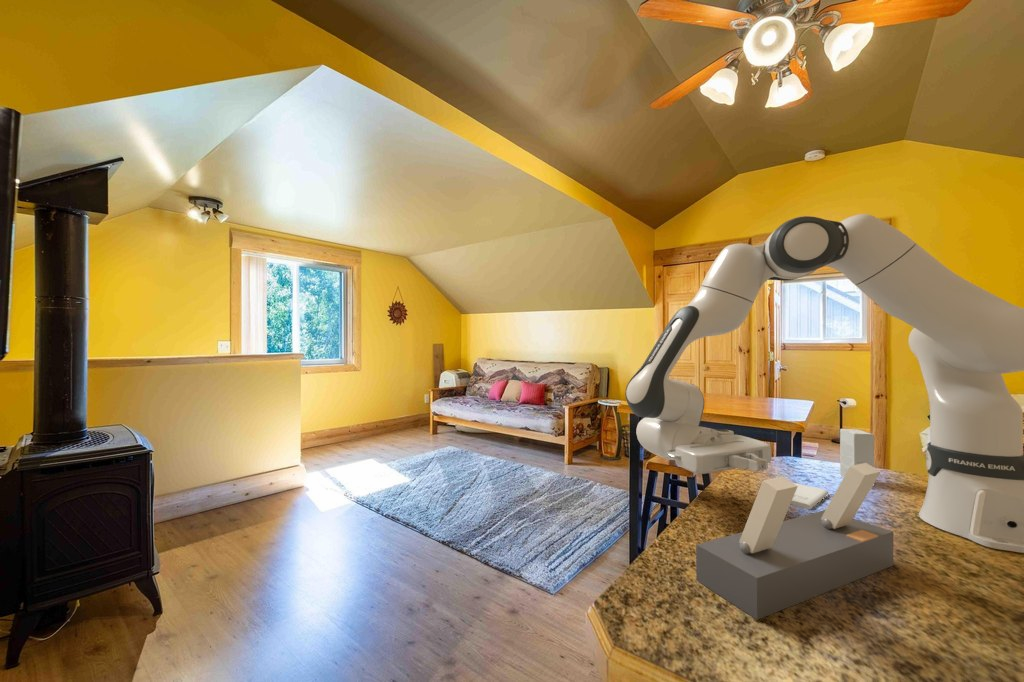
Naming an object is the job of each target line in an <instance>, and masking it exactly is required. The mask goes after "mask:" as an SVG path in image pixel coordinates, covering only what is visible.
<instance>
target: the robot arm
mask: <svg viewBox="0 0 1024 682" xmlns="http://www.w3.org/2000/svg"><path fill="white" fill-rule="evenodd" d="M824 267H827V268H831V269H834V270H836V271H837V272H839V273H841V274H843V275H844V277H846V278H847V279H848V280H849V281H850V282H851V283H852V284H854V285H855V286H856V288H857V289H859V290H860V291H861V292H862V293H863V294H864V295H866V296H867V297H868V299H870V300H871V301H873V303H875V304H876V305H877V306H878V307H879V308H881V310H883V311H884V312H885V313H886V314H888V315H890V316H891V317H894V318H895V319H898V320H900V321H901V322H904V323H906V324H907V325H909V326H910V327H913V329H912V330H911V331H910V333H909V336H908V347H909V349H910V351H911V352H912V354H914V356H915V358H916V359H917V361H918V364H919V367H920V371H921V374H922V378H923V381H924V384H925V388H926V392H927V396H928V401H929V424H930V425H929V426H930V427H929V429H930V433H929V434H930V435H929V436H930V441H929V442H928V443H927V444H926V445H927V446H926V447H927V448H926V451H925V452H926V455H925V456H926V457H925V459H926V461H925V463H926V464H925V465H926V471H927V472H928V481H927V487H926V492H925V497H924V498H923V499H924V500H923V502H922V506H921V508H920V510H919V512H918V517H919V518H920V519H921V520H922V521H924V522H925V523H927V524H929V525H931V526H933V527H935V528H937V529H940V530H941V531H942V530H943V531H944V532H947V533H950V534H953V535H956V536H959V537H963V538H965V539H968V540H970V541H972V542H974V543H977V544H979V545H981V546H984V547H987V548H989V549H990V548H991V549H995V550H1002V551H1008V552H1009V551H1010V552H1014V553H1015V552H1016V553H1021V554H1024V412H1023V409H1022V407H1021V405H1020V403H1018V401H1017V400H1016V399H1015V398H1014V397H1013V396H1012V395H1011V392H1010V391H1009V389H1008V387H1007V384H1006V383H1005V379H1004V377H1003V374H1011V373H1019V372H1024V307H1020V306H1018V305H1016V304H1012V303H1011V302H1009V301H1006V300H1005V299H1003V298H1001V297H999V296H998V295H995V294H993V293H991V292H989V291H988V290H986V289H984V288H982V287H980V286H978V285H976V284H974V283H972V282H971V281H969V280H967V279H965V278H963V277H961V276H959V274H957V273H955V272H954V271H952V270H950V269H949V268H948V267H947V266H946V265H944V264H943V263H941V262H940V261H939V260H938V259H936V258H935V257H934V256H933V255H931V254H930V253H929V252H928V251H926V249H924V248H922V247H921V246H920V245H919V244H918V243H917V242H915V241H914V240H912V238H911V237H909V236H907V234H904V233H903V232H902V231H900V229H897V228H896V227H894V225H891V224H889V223H887V222H885V221H884V220H882V219H880V218H878V217H876V216H874V215H872V214H868V213H860V214H859V213H858V214H855V215H852V216H849V217H846V218H844V219H843V220H841V221H837V220H836V221H835V220H830V219H825V218H821V217H817V216H809V215H808V216H805V215H803V216H797V217H794V218H791V219H789V220H787V221H785V222H783V223H782V224H780V225H779V226H778V227H777V228H776V229H775V230H774V231H772V233H771V234H769V236H768V237H767V239H766V240H765V241H764V242H763V243H761V244H758V245H752V244H749V243H744V242H743V243H742V242H738V243H733V244H732V243H731V244H729V245H726V246H725V247H724V248H722V250H721V251H720V253H718V255H717V257H716V258H715V259H714V261H713V262H712V263H711V266H710V268H709V269H708V271H707V273H706V274H705V277H704V278H703V281H702V283H701V284H700V285H701V286H700V287H699V289H698V291H697V293H696V294H695V296H694V297H693V299H692V300H691V301H690V302H689V303H688V304H687V305H686V306H683V307H682V308H680V309H678V310H677V311H676V312H675V313H674V315H673V316H671V317H672V318H671V319H670V320H669V322H668V323H667V325H666V326H665V328H664V329H663V331H662V333H661V334H660V336H659V338H658V339H657V340H656V343H655V344H654V346H653V347H652V349H651V350H650V352H649V354H648V356H647V357H646V359H645V360H644V361H643V363H642V365H641V366H640V368H638V370H637V371H636V372H635V374H633V376H632V377H631V378H630V379H629V381H628V383H627V385H626V387H625V400H626V403H627V405H628V408H629V409H630V411H632V413H633V414H634V415H635V416H636V417H638V418H642V419H640V421H639V422H638V423H637V426H636V429H635V430H636V432H635V433H636V437H637V440H638V442H639V444H640V445H641V446H642V447H643V448H644V449H645V450H646V451H648V452H650V453H652V454H654V455H655V456H658V457H659V458H660V457H661V458H663V459H665V460H670V461H675V464H676V465H677V466H678V467H680V468H682V469H684V470H686V471H689V472H692V473H695V474H698V475H699V474H700V475H706V474H711V473H718V472H723V471H729V470H734V469H737V470H738V469H740V470H748V471H752V472H759V471H766V470H768V468H769V463H771V462H772V446H771V445H770V444H769V443H767V442H765V441H762V440H759V439H755V438H752V437H748V436H745V435H741V434H740V435H739V434H734V431H733V430H729V429H723V428H719V429H718V428H710V427H706V426H700V424H701V422H702V421H701V420H702V418H703V414H704V409H705V397H704V394H703V393H702V391H701V389H700V388H699V387H698V386H697V385H695V384H693V383H690V382H686V381H683V380H680V379H675V378H671V377H669V376H670V374H671V373H672V371H673V369H674V368H675V366H676V364H677V363H678V361H679V360H680V358H681V356H682V355H683V353H684V352H685V350H686V349H687V347H689V345H690V344H691V343H694V342H695V341H697V340H700V339H702V338H707V337H714V336H721V335H726V334H728V333H731V332H734V331H735V330H737V329H739V328H740V327H741V325H742V324H743V323H744V322H745V320H746V319H747V317H748V316H749V313H750V312H751V309H752V307H753V305H754V303H755V301H756V299H757V296H758V294H759V292H760V290H761V288H762V287H763V286H764V284H765V283H766V282H767V281H792V280H793V281H794V280H797V279H799V278H801V279H802V278H804V277H806V276H808V275H810V274H813V273H815V272H816V271H817V270H819V269H821V268H824Z"/></svg>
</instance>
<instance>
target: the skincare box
mask: <svg viewBox="0 0 1024 682" xmlns="http://www.w3.org/2000/svg"><path fill="white" fill-rule="evenodd" d="M839 444H840V445H839V447H840V448H839V450H840V451H839V457H840V460H839V467H840V468H839V474H840V475H841V476H842V477H844V476H845V474H846V473H847V471H848V469H849V467H850V466H853V465H857V464H862V463H867V464H869V465H871V466H872V467H874V468H875V434H873V433H870V432H867V431H864V430H860V429H857V428H856V429H851V428H840V429H839ZM840 475H839V476H840ZM842 477H841V478H842Z"/></svg>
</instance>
